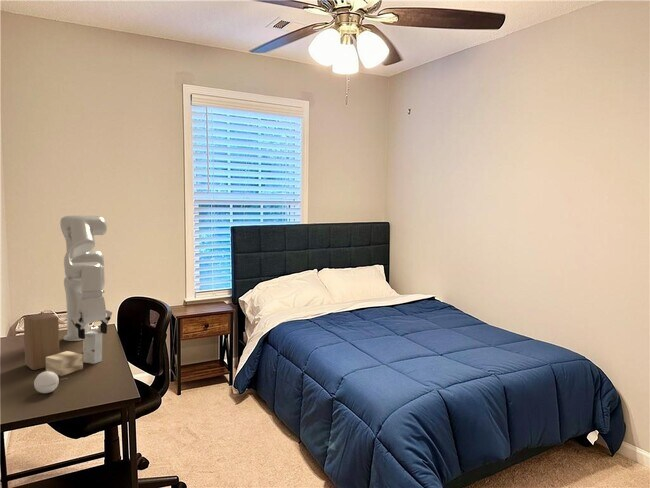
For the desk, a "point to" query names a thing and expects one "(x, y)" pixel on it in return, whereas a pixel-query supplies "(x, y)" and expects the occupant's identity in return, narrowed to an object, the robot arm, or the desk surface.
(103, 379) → the desk surface
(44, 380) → the white ellipsoid
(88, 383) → the desk surface
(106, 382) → the desk surface
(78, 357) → the beech block
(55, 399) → the desk surface
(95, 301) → the robot arm
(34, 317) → the block
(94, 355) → the skincare box
